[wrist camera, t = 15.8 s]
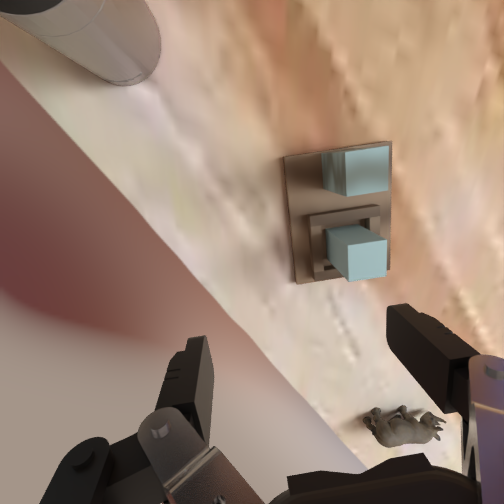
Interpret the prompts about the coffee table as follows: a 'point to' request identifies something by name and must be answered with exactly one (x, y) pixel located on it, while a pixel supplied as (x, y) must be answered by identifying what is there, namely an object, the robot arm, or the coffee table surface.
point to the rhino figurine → (403, 428)
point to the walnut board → (336, 201)
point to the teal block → (356, 252)
